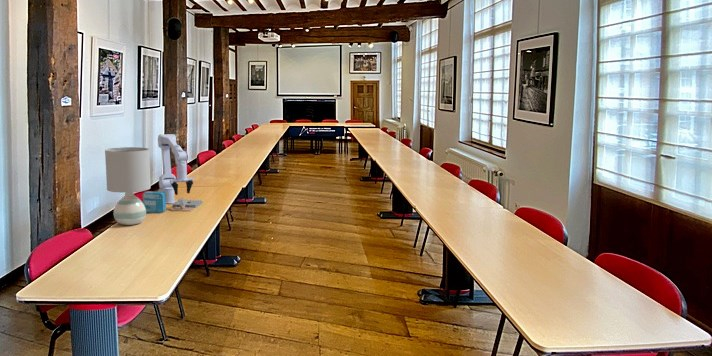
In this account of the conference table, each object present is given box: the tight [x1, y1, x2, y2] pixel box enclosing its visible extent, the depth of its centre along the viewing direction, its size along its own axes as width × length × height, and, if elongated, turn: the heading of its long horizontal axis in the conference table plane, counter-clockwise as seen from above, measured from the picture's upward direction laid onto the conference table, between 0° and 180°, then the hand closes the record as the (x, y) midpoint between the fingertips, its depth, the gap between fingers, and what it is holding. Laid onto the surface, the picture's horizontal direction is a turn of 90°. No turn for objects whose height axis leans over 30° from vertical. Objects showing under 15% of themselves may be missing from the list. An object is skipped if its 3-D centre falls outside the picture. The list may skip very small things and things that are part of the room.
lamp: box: [104, 146, 151, 226], centre depth 291 cm, size 22×22×40 cm
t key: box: [177, 197, 188, 209], centre depth 329 cm, size 7×3×6 cm, turn 44°
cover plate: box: [172, 199, 203, 209], centre depth 341 cm, size 14×14×2 cm
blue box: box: [142, 190, 167, 214], centre depth 321 cm, size 12×4×12 cm, turn 88°
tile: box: [170, 207, 196, 212], centre depth 329 cm, size 12×8×1 cm, turn 88°
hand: (182, 193), depth 328 cm, fingers open, 7 cm apart
